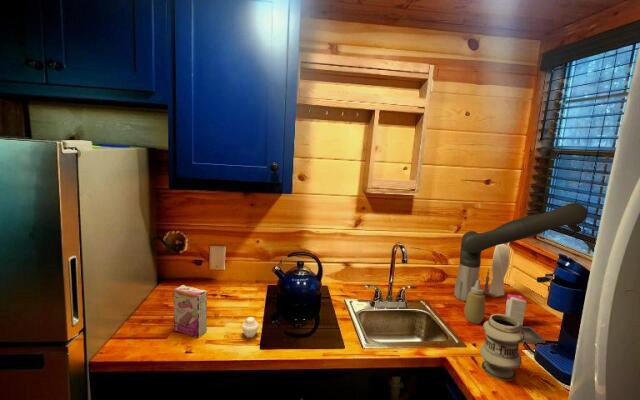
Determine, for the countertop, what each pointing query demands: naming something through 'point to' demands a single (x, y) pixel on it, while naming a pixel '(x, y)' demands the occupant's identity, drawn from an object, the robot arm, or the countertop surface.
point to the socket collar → (531, 336)
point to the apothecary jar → (501, 346)
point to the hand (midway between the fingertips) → (542, 284)
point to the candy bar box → (190, 310)
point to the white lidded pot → (250, 327)
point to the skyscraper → (498, 271)
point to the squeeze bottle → (475, 304)
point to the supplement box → (515, 307)
